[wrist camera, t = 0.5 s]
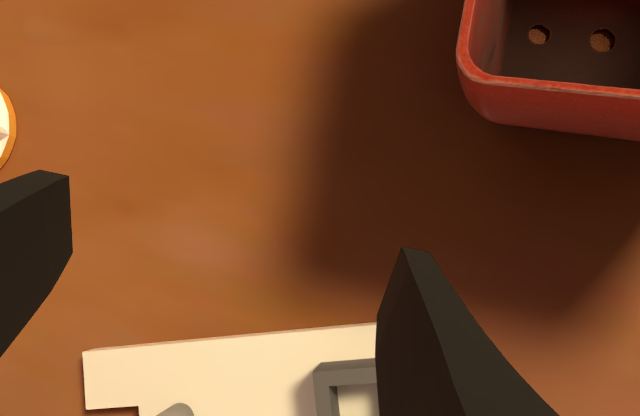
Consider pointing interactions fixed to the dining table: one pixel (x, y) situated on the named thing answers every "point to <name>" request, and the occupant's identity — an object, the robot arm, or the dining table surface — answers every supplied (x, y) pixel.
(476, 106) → the plant pot
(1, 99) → the cup
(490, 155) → the dining table surface
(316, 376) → the grey square frame
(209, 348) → the shelf board
